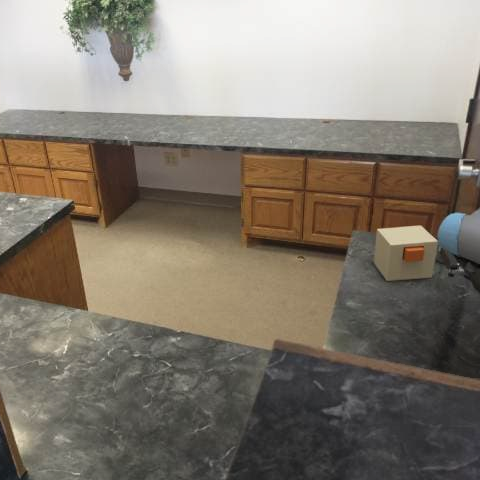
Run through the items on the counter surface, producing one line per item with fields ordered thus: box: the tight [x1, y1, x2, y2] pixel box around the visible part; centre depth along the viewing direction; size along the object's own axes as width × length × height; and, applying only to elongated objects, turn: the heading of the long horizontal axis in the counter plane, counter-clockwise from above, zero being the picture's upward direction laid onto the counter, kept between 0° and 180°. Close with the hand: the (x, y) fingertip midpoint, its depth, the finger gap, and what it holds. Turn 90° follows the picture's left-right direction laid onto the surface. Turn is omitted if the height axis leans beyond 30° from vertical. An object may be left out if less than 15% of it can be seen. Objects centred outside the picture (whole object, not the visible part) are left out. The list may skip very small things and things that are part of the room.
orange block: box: [403, 246, 424, 262], centre depth 134 cm, size 4×2×3 cm, turn 89°
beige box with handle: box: [373, 225, 438, 282], centre depth 140 cm, size 12×10×11 cm
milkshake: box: [436, 243, 444, 264], centre depth 142 cm, size 4×5×10 cm
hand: (442, 233), depth 117 cm, fingers closed
